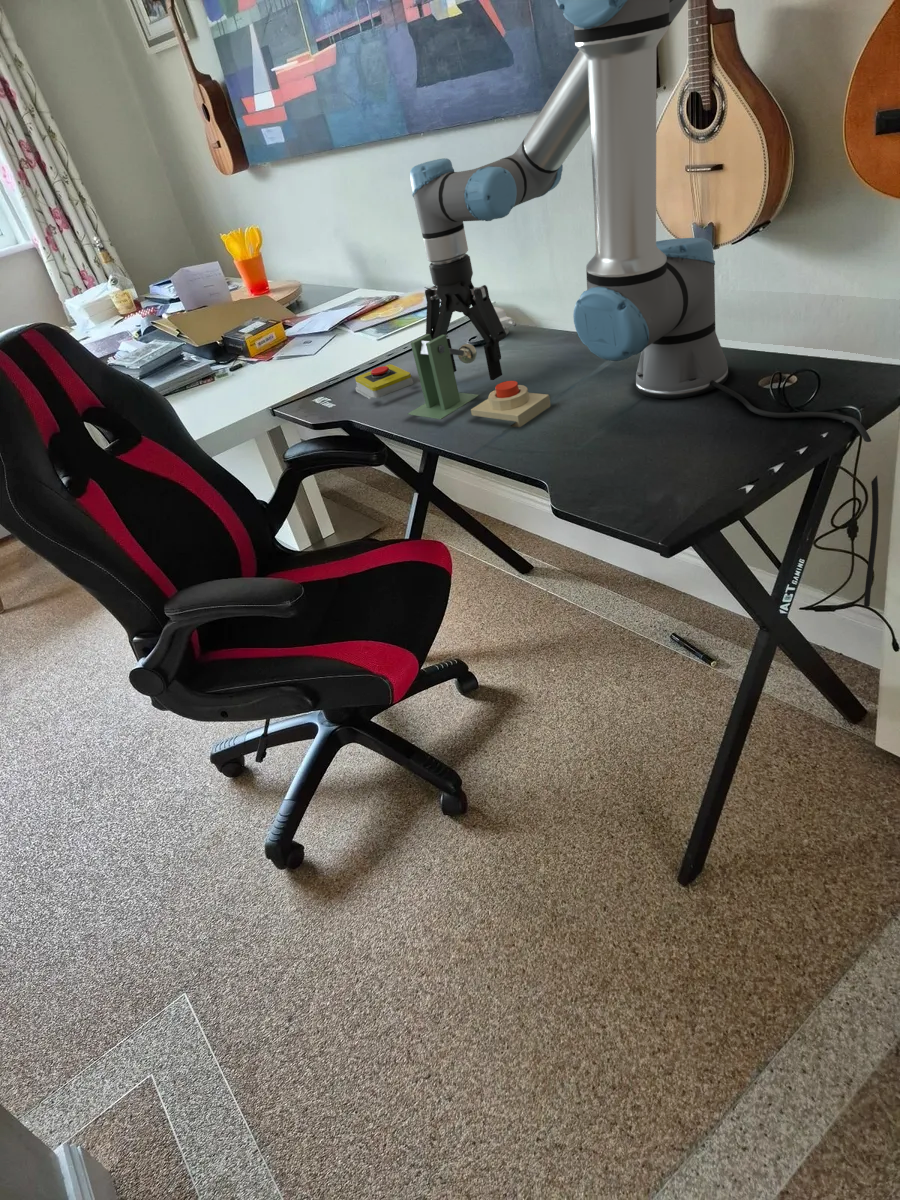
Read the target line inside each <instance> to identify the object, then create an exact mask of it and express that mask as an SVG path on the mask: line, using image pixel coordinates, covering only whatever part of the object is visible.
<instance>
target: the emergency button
mask: <svg viewBox="0 0 900 1200" xmlns="http://www.w3.org/2000/svg"><path fill="white" fill-rule="evenodd" d="M413 380H414V379H413V378H412V375H411V372H410V371H407V370H404V369H403V368H401V367H398V366H397V365H394V364H392V363H390V364H389V363H388V364H386V365H383V366H382V365H381V366H378V367H375V368H373V369H372V370H370V371H367V372H365V373H362V374H360V375H357V376H355V383H356V387H355V391H356V392H357V393H358V394H359V395H362V396H363V397H365V398H367V399H368V400H371V399H372V398H375V399H377V398H381V397H383V396H386V395H388V394H391V393H394V392H397V391H399V390H402V389H404V388H407V387H410V386H412V385H414V381H413Z"/></svg>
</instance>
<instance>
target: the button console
mask: <svg viewBox="0 0 900 1200" xmlns="http://www.w3.org/2000/svg"><path fill="white" fill-rule="evenodd" d="M518 388H519V393H518V394H517V395H514V396H511V397H507V398H497V394H496V389H494V390H493V391H491V392H489V394H488V396H487V397H488V398H487V399H485V400H483V401H482V402H480V403H479V404H477V405H476V406H474V407H472V408H471V409H470V414H471V416H474V417H480V418H487V419H488V418H489V419H494V420H503V421H508V422H514V423H512V424H511V425H510V427H513V428H521V427H523V426H524V425H525V424H527V423H528V422H530V421H532V420H533V419H535V418H536V417H537V416H539V415H540V414H542V413H544V411H546V410H547V409H549V408H550V407H551V406H552V405H551V398H550V394H547V393H546V394H544V393H536V392H529V389H528V387H527V386H525V385H523V384H518Z"/></svg>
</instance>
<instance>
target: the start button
mask: <svg viewBox="0 0 900 1200" xmlns="http://www.w3.org/2000/svg"><path fill="white" fill-rule="evenodd" d="M518 385H519V384H518V381H516V380H507V381H503V382H500V383H497V384H496V385H495V387H494V388H495V389H494V390H496V394H497V398H507V397H511V396H514V395H517V394H518V393H519V388H518Z"/></svg>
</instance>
